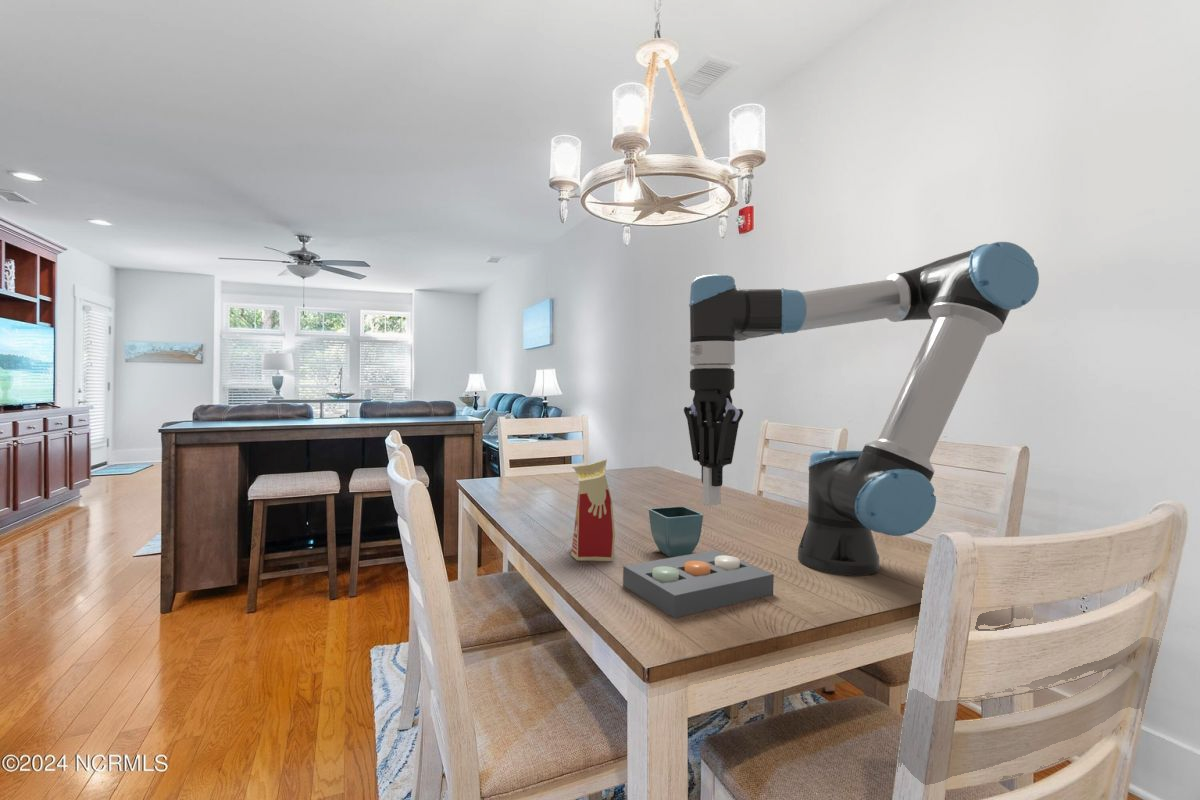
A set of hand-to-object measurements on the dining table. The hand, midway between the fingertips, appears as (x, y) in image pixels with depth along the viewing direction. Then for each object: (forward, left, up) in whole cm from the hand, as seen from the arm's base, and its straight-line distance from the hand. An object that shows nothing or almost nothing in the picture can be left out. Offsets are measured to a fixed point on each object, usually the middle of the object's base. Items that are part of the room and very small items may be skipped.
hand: (711, 503), depth 93 cm
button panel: (+2, -1, -15) cm, 15 cm away
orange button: (+2, -1, -13) cm, 14 cm away
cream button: (-5, -1, -13) cm, 14 cm away
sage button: (+9, -1, -13) cm, 16 cm away
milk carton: (+9, -27, -15) cm, 32 cm away
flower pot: (-7, -20, -15) cm, 26 cm away
